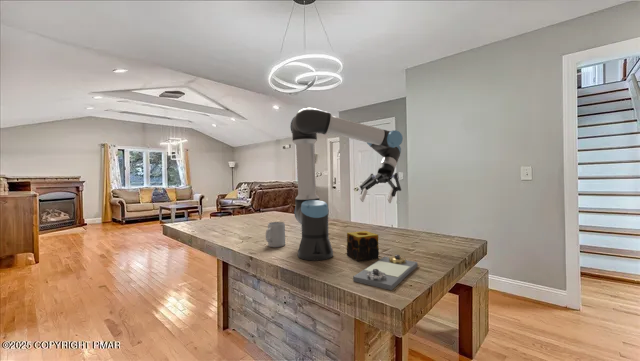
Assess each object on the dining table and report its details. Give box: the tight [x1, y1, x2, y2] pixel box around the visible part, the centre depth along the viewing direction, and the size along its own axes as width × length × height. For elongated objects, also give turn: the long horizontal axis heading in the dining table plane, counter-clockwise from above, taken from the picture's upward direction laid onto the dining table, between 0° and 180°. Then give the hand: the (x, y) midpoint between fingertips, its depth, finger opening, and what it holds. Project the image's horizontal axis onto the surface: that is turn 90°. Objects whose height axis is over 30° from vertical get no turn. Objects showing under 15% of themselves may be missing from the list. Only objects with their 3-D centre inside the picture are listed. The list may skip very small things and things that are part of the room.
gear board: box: [352, 254, 418, 291], centre depth 96 cm, size 13×26×4 cm, turn 144°
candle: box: [346, 230, 380, 263], centre depth 115 cm, size 10×10×10 cm
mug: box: [265, 221, 286, 248], centre depth 136 cm, size 12×8×11 cm
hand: (374, 200), depth 125 cm, fingers open, 13 cm apart
